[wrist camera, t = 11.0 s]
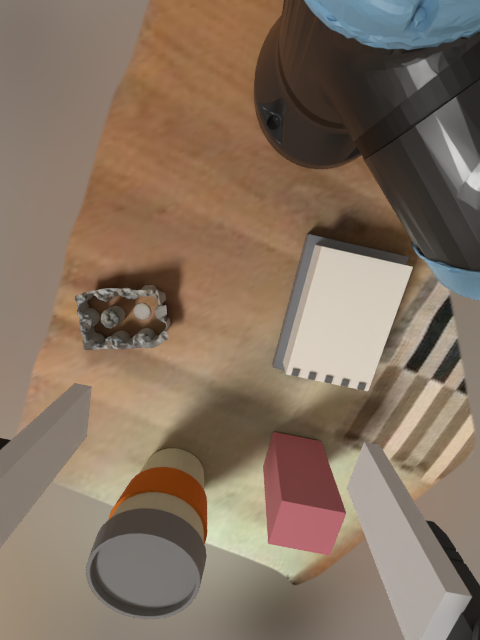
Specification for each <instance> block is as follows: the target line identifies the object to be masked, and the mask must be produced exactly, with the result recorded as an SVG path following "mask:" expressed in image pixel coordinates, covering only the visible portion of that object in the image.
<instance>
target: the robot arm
mask: <svg viewBox="0 0 480 640" xmlns="http://www.w3.org/2000/svg"><path fill="white" fill-rule="evenodd" d="M254 102H255V109H256V114H257V118H258V121H259V124H260V127H261V129H262V131H263V133H264V135H265V137H266V138H267V140H268V141H269V143H270V144H271V145H272V146H273V148H274V149H275V150H276V151H277V152H278V153H279V154H281V155H282V156H283V157H284V158H286V159H287V160H289V161H291V162H293V163H295V164H297V165H300V166H303V167H306V168H312V169H328V168H334V167H338V166H341V165H344V164H347V163H349V162H351V161H353V160H354V159H356V158H358V157H359V156H361V155H362V156H363V158H364V161H365V163H366V164H367V166H368V168H369V169H370V171H371V173H372V174H373V176H374V178H375V179H376V181H377V183H378V184H379V186H380V188H381V189H382V191H383V193H384V194H385V196H386V198H387V199H388V201H389V203H390V204H391V206H392V208H393V210H394V211H395V213H396V215H397V216H398V218H399V220H400V221H401V223H402V225H403V226H404V228H405V230H406V231H407V233H408V235H409V236H410V238H411V240H412V243H411V244H412V247H413V249H414V251H415V252H416V253H417V255H418V256H419V257H420V258H422V259H423V260H424V261H425V262H426V263H427V265H428V266H429V268H430V269H431V271H432V272H433V274H434V275H435V276H436V278H437V279H438V281H439V282H440V283H441V284H442V285H443V286H445V287H447V288H449V289H450V290H452V291H453V292H454V293H456V294H459V295H461V296H464V297H467V298H471V299H475V300H480V0H284V4H283V12H282V15H281V17H280V18H279V19H278V20H277V21H276V23H275V24H274V25H273V27H272V28H271V30H270V32H269V33H268V35H267V37H266V39H265V41H264V44H263V46H262V49H261V51H260V54H259V58H258V61H257V66H256V71H255V81H254ZM90 397H91V386H86V385H82V384H77V383H75V384H74V385H72V386H71V387H70V388H69V389H68V390H67V391H66V392H65V393H64V394H62V395H61V396H60V397H59V398H58V399H57V400H56V401H55V402H53V403H52V404H51V405H50V406H49V407H48V408H47V409H46V410H45V411H43V412H42V413H41V414H40V415H39V416H38V417H37V418H36V419H34V420H33V421H32V422H31V423H30V424H29V425H28V426H27V427H26V428H24V429H23V430H22V431H21V432H20V433H19V434H18V435H17V436H15V437H14V438H13V439H12V440H8V439H2V438H0V548H1V546H2V545H3V544H4V542H5V541H6V540H7V539H8V537H9V536H10V535H11V533H12V532H13V531H14V530H15V528H16V527H17V526H18V524H19V523H20V522H21V521H22V519H23V518H24V517H25V515H26V514H27V513H28V512H29V510H30V509H31V508H32V506H33V505H34V504H35V502H36V501H37V500H38V498H39V497H40V496H41V495H42V493H43V492H44V491H45V490H46V488H47V487H48V486H49V484H50V483H51V482H52V481H53V479H54V478H55V477H56V475H57V474H58V473H59V472H60V470H61V469H62V468H63V466H64V465H65V464H66V462H67V461H68V460H69V459H70V457H71V456H72V455H73V453H74V452H75V451H76V450H77V448H78V447H79V446H80V444H81V443H82V442H83V441H84V439H85V438H86V437H87V427H88V417H89V407H90ZM347 490H348V492H349V495H350V498H351V500H352V503H353V506H354V508H355V511H356V513H357V516H358V519H359V521H360V524H361V526H362V529H363V532H364V534H365V537H366V539H367V542H368V545H369V547H370V550H371V552H372V555H373V558H374V560H375V563H376V565H377V568H378V571H379V573H380V576H381V578H382V581H383V584H384V586H385V589H386V592H387V594H388V597H389V599H390V602H391V604H392V607H393V610H394V612H395V615H396V617H397V620H398V623H399V625H400V628H401V630H402V633H403V636H404V638H405V640H480V585H479V584H478V582H477V581H476V579H475V578H474V576H473V575H472V573H471V571H470V570H469V568H468V567H467V565H466V564H464V562H463V559H462V558H461V556H460V555H459V553H458V552H456V548H455V547H454V545H453V544H452V543H451V541H450V539H449V538H448V536H447V535H446V534H445V533H444V532H443V531H442V530H441V529H440V528H439V527H438V526H437V525H436V524H435V523H434V522H432V521H426V520H425V519H424V517H423V515H422V514H421V512H420V511H419V509H418V507H417V506H416V504H415V502H414V501H413V499H412V497H411V496H410V494H409V493H408V491H407V489H406V488H405V486H404V484H403V483H402V481H401V479H400V478H399V476H398V475H397V473H396V471H395V470H394V468H393V466H392V465H391V463H390V461H389V460H388V458H387V457H386V455H385V453H384V452H383V450H382V448H381V447H380V445H377V444H372V443H367V442H364V444H363V446H362V449H361V452H360V454H359V457H358V460H357V462H356V465H355V468H354V470H353V473H352V476H351V478H350V481H349V483H348V486H347Z"/></svg>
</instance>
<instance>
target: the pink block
mask: <svg viewBox="0 0 480 640" xmlns="http://www.w3.org/2000/svg"><path fill="white" fill-rule="evenodd" d="M263 470H264V485H265V500H266V516H267V531H268V544H273V545H278V546H283V547H288V548H294V549H299V550H304V551H310V552H315V553H320V554H325V555H330V554H331V551H332V549H333V546H334V543H335V541H336V538H337V536H338V533H339V530H340V528H341V525H342V523H343V520H344V518H345V515H346V511H345V508H344V505H343V503H342V500H341V497H340V494H339V491H338V488H337V485H336V482H335V480H334V477H333V474H332V471H331V468H330V465H329V462H328V459H327V457H326V454H325V451H324V448H323V445H322V442H321V441H317V440H312V439H307V438H302V437H297V436H292V435H287V434H282V433H277V432H273V434H272V437H271V441H270V444H269V448H268V451H267V455H266V459H265V462H264V466H263Z"/></svg>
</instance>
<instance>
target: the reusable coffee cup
mask: <svg viewBox="0 0 480 640" xmlns="http://www.w3.org/2000/svg"><path fill="white" fill-rule="evenodd" d="M206 537H207V498H206V494H205V491H204V470H203V467H202V465H201V463H200V461H199V460H198V459H197V458H196V457H195V456H194V455H192V454H191V453H189V452H187V451H185V450H182V449H177V448H167V449H162V450H160V451H157V452H156V453H154V454H153V455H152V456H151V457H150V458H149V459H148V461H147V462H146V464H145V465H144V467H143V469H142V470H141V472H140V473H139V474H138V475H136V476H135V477H134V478H133V479H132V480H131V482H130V483H129V485H128V486H127V488H126V489H125V491H124V492H123V494H122V495H121V497H120V498H119V500H118V501H117V503H116V504H115V506H114V508H113V509H112V511H111V513H110V516H109V520H108V521H107V522H106V523H105V524H104V525H103V526H102V527H101V529H100V531H99V532H98V534H97V537H96V540H95V543H94V545H93V548H92V551H91V553H90V556H89V559H88V562H87V566H86V577H87V581H88V584H89V586H90V588H91V590H92V592H93V593H94V594H95V596H96V597H97V598H98V599H99V600H100V601H101V602H102V603H103V604H105V605H106V606H108V607H109V608H111V609H112V610H114V611H116V612H118V613H121V614H123V615H127V616H130V617H134V618H141V619H158V618H165V617H168V616H171V615H175V614H177V613H179V612H180V611H182V610H184V609H185V608H186V607H187V606H189V605H190V604H191V603H192V601H193V600H194V599H195V598H196V595H197V593H198V591H199V588H200V584H201V579H202V575H203V571H204V567H205V561H206V549H205V545H204V543H205V541H206Z"/></svg>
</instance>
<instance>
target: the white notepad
mask: <svg viewBox="0 0 480 640" xmlns="http://www.w3.org/2000/svg"><path fill="white" fill-rule="evenodd" d="M408 260H409V257H408V256H403V255H399V254H394V253H390V252H386V251H381V250H377V249H372V248H368V247H363V246H359V245H355V244H350V243H346V242H341V241H337V240H333V239H328V238H324V237H319V236H315V235H310V234H307V235H306V239H305V242H304V246H303V250H302V254H301V257H300V261H299V265H298V269H297V273H296V276H295V280H294V284H293V288H292V292H291V295H290V299H289V303H288V307H287V310H286V314H285V318H284V322H283V326H282V329H281V333H280V337H279V341H278V344H277V348H276V352H275V356H274V360H273V368H276V369H281V370H285V372H286V374H287V375H292V376H297V377H301V378H306V379H311V380H316V381H320V382H325V383H330V384H335V385H340V386H344V387H349V388H354V389H359V390H363V391H368V390H369V387H370V385H371V382H372V379H373V376H374V374H375V371H376V368H377V365H378V363H379V360H380V357H381V354H382V352H383V349H384V346H385V343H386V340H387V338H388V335H389V332H390V329H391V327H392V324H393V321H394V318H395V316H396V313H397V310H398V307H399V305H400V302H401V299H402V296H403V294H404V291H405V288H406V285H407V282H408V280H409V277H410V274H411V271H412V269H413V267H411V266H407V263H408Z"/></svg>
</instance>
